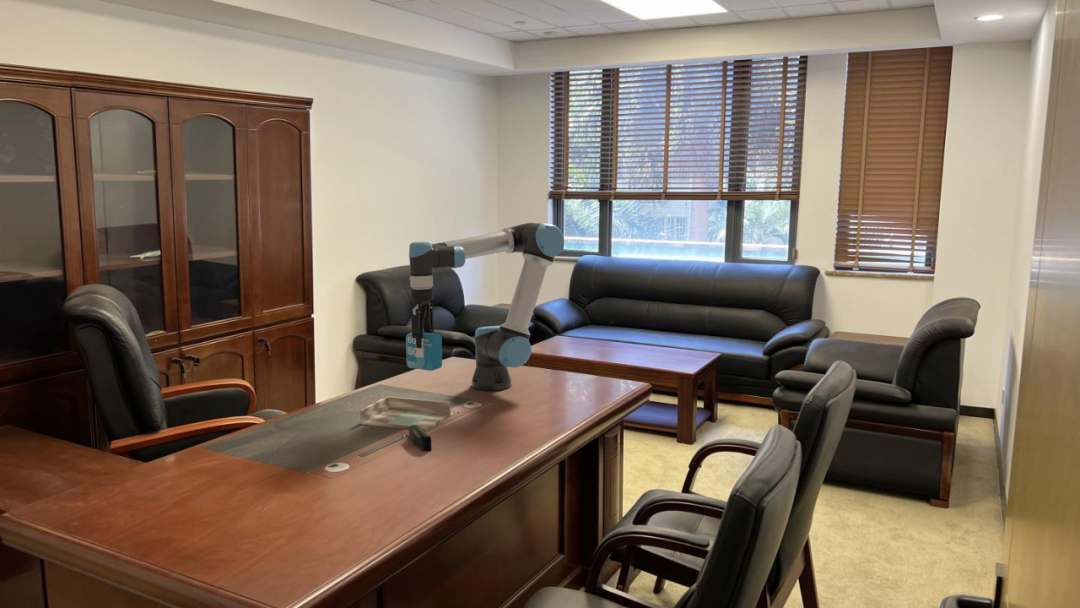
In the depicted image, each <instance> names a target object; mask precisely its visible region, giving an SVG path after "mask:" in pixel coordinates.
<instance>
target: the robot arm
mask: <svg viewBox="0 0 1080 608" xmlns="http://www.w3.org/2000/svg"><path fill="white" fill-rule="evenodd" d="M564 247H565V237H564V234H563V232H562V230H561V229H560V228H559V227H558V226H557V225H554V224H550V223H547V222H544V223H541V222H539V223H538V222H526V223H522V224H517V225H514V226H510V227H505V228H502V230H501V231H498V232H492V233H486V234H481V235H475V236H470V237H465V238H460V239H459V238H458V239H453V240H447V241H443V242H436V243H432V242H431V241H413V242H411V243H410V244H409V249H408V257H409V258H408V259H409V272H410V273H409V276H410V277H409V282H410V287H411V288H410V299H411V300H412V301H414V308H410V315H411V333H412V338H416V357H424V338H422V337H423V332H425V333H434V334H435V332H434V331H435V320H434V319H435V317H434V305H435V304H434V303H433V302H432V303H431V302H430V300H433V299H434V288H433V287H434V279H433V277H434V275H433V274H434V273H433V270H439V269H440V270H442V269H443V270H444V269H458V268H462V267H464V265H465V263H466V260H468V259H473V258H477V257H483V256H489V255H493V254H499V253H504V252H505V253H506V254H513V253H521V254H522V257H523V259H524V262H523V266H522V268H521V271H520V274H519V277H518V280H517V284H516V287H515V290H514V295H513V297H512V301H511V304H510V306H509V310H508V312H507V313H508V314H507V316H506V320H505V322H504V323H502V324H500V325H489V326H481V327H478V328H476V329H475V333H474V343H475V345H474V346H475V368H474V373H473V375H472V379H471V387H472V388H473V389H475V390H479V391H500V390H505V389H509V388H511V386H512V378H511V375H510V372H509V369H508V368H519V367H521V366H524V364H525V365H526V363H527V362H528V361H529V359H530V358H531V357H530V356H531V354H532V346H531V343H530V338H531V333H530V331H529V327H530V323H531V320H532V317H533V313H534V311H535V307H536V304H537V300H538V298H539V295H540V291H541V289H542V285H543V282H544V278H545V275H546V271H547V268H548V267H550V266H552V265H553V262H554V260H555V257H557V256H559V254H561V253H562V251H563V250H564Z"/></svg>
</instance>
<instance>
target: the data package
mask: <svg viewBox="0 0 1080 608" xmlns="http://www.w3.org/2000/svg"><path fill="white" fill-rule="evenodd" d="M422 338H424V357H416V338H412V332H410V333H407V334H406V336H405V351H406V352H405V353H406V356H405V357H406V366H407V367H408V368H410V369H417V370H424V371H430V372H431V371H432V372H433V371H436V370H438V369H441V368H442V366H443V340H442V336H441V335H440V334H439V333H435V332H434V333H425V332H424V331H423V337H422Z"/></svg>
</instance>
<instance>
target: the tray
mask: <svg viewBox="0 0 1080 608" xmlns="http://www.w3.org/2000/svg"><path fill="white" fill-rule="evenodd" d="M451 410H452V409H451V401H447V400H445V401H444V400H432V399H422V398H411V397H399V396H390V395H389V396H384V397H382V398H381V399H379V400H377V401H375V402H373V403H371V404H368V405H367V406H365V407H363V408H361V409H360V410H359V415H360V416H359V417H360V418H359V420H360V425H363V426H372V427H373V426H375V427H384V428H395V429H402V430H403V429H405V430H409V427H410V426H411V425H417V426H420V427H421V429H422V430H423V431H424V432H428V431H430V430H431V429H433V428H434V427H436V426H437V425H439V424H440V423H441V422H444V421H445V420H446V419H448V418H449V417H451V415H452V413H451V412H452V411H451Z"/></svg>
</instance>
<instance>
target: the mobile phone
mask: <svg viewBox="0 0 1080 608" xmlns="http://www.w3.org/2000/svg"><path fill="white" fill-rule="evenodd" d="M406 437H407V439H408V440H410V441H412V443H413V444H414V445H415V446H416V447H417V448H418V449H419V450H420V451H422V452H430V451H432V436H430V434H428V433H427V432H426V431H423V430H422V429H421V427H420V426H417V425H411V426H410V427H409V429H408V435H407V436H406Z"/></svg>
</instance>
